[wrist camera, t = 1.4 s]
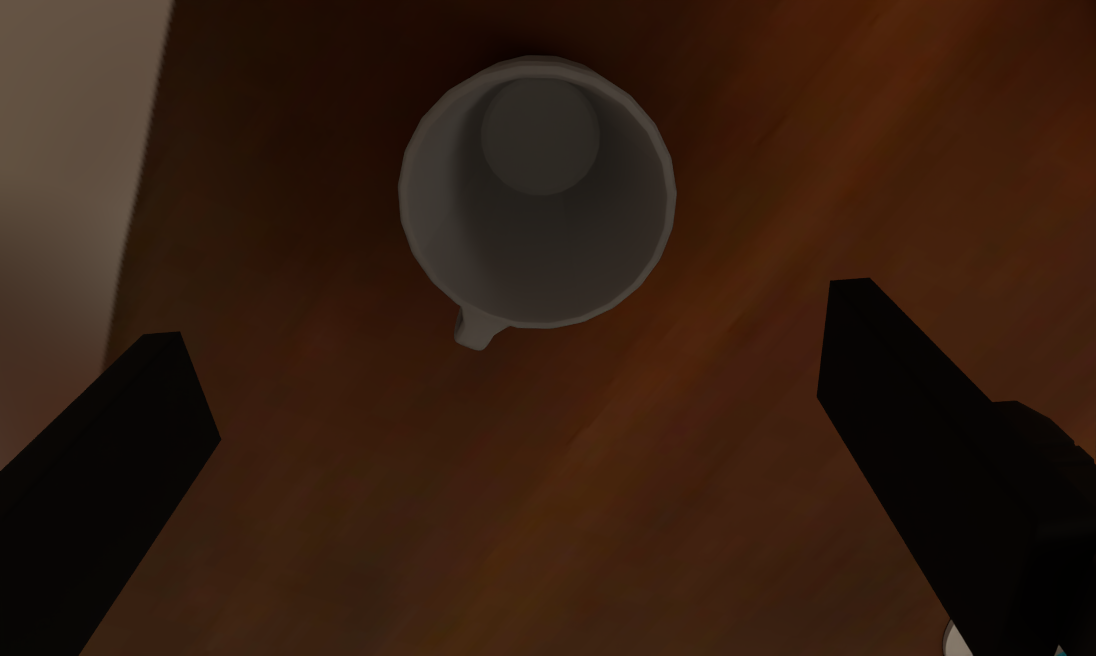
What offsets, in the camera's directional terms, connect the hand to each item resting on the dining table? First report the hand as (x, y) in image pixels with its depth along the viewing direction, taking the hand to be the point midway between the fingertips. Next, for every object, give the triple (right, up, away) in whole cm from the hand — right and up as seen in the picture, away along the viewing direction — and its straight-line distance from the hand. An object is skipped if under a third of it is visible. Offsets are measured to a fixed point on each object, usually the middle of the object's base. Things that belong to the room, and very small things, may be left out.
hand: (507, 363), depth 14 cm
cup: (0, +7, +13) cm, 15 cm away
